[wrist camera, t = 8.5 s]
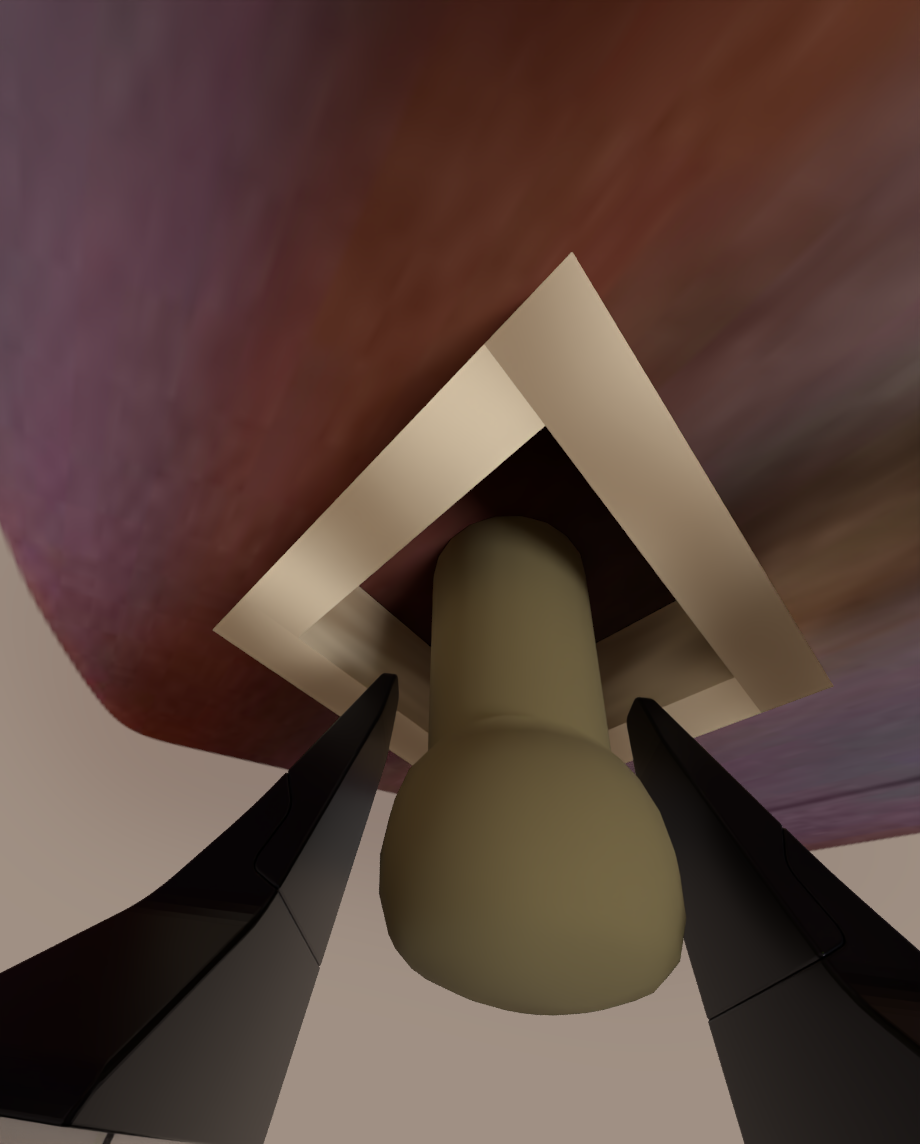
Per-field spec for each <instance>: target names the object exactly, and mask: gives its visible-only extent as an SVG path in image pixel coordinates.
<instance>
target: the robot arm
mask: <svg viewBox="0 0 920 1144" xmlns="http://www.w3.org/2000/svg"><path fill="white" fill-rule="evenodd" d="M398 701H399V686H398V676H397V675H396V674H392V673H383V674H381V675H380V676H379V677H378V678H377V679H376V680H375V681H374V682H373V683H372V684H371V685H370V686H369V687H368V688H367V689H366V691H365V692H364V693H363V694H362V695H361V696H360V697H359V698H358V699H357V700H356V701H355V702H354V703H353V704H352V705H351V706H350V707H349V708H348V709H347V710H346V711H345V712H344V713H343V714H342V715H341V716H340V717H339V718H338V720H337V721H336V722H335V723H334V724H333V725H332V726H331V727H330V728H329V729H328V730H327V731H326V732H325V733H324V734H323V735H322V736H321V737H320V738H319V739H318V740H317V741H316V742H315V743H314V744H313V745H312V746H311V747H310V748H309V750H308V751H307V752H306V753H305V754H304V755H303V756H302V757H301V758H300V759H299V760H298V761H297V762H296V763H295V764H294V765H293V766H292V767H291V768H290V769H289V770H288V773H285V774H284V775H283V776H282V777H281V778H280V779H279V780H278V781H277V782H276V783H275V785H274V786H273V787H272V788H271V789H270V790H269V791H268V792H266V793H265V795H264V796H263V797H261V798H260V799H259V801H258V802H256V803H255V804H254V805H253V806H252V807H251V808H250V809H249V810H248V811H247V812H246V813H244V814H243V815H242V816H241V817H240V818H239V819H238V820H237V821H236V822H235V823H234V824H232V825H231V826H230V827H229V828H228V829H227V830H226V831H224V832H223V833H222V834H221V835H220V836H219V837H218V838H217V839H215V840H214V841H213V842H212V843H211V844H210V845H209V846H207V847H206V848H205V849H204V850H203V851H202V852H200V853H199V854H198V855H197V856H196V857H195V858H194V859H193V860H191V861H190V862H189V863H188V864H187V865H186V866H185V867H183V868H182V869H181V870H180V871H179V872H178V873H176V874H175V875H174V876H173V877H172V878H171V879H169V880H168V881H167V882H166V883H165V884H163V885H162V886H161V887H159V888H158V889H157V890H155V891H154V892H153V893H151V894H150V895H149V896H147V897H145V898H144V899H142V900H141V901H139V902H138V903H136V904H134V905H133V906H131V907H129V908H127V909H126V910H124V911H122V912H120V913H118V914H116V915H114V916H112V917H110V918H108V919H106V920H104V921H102V922H100V923H98V924H96V925H94V926H92V927H90V928H88V929H86V930H84V931H82V932H80V933H79V934H76V935H74V936H72V937H70V938H69V939H67V940H65V941H63V942H61V943H59V944H57V945H55V946H53V947H51V948H49V949H47V950H45V951H43V952H41V953H39V954H37V955H35V956H33V957H31V958H29V959H27V960H25V961H23V962H21V963H19V964H17V965H16V966H13V967H11V968H9V969H7V970H6V971H3V972H1V973H0V1144H263V1143H264V1140H265V1137H266V1134H267V1131H268V1128H269V1125H270V1122H271V1119H272V1115H273V1112H274V1109H275V1106H276V1103H277V1100H278V1097H279V1093H280V1090H281V1087H282V1084H283V1081H284V1078H285V1075H286V1072H287V1068H288V1066H289V1063H290V1059H291V1056H292V1053H293V1050H294V1047H295V1044H296V1041H297V1037H298V1034H299V1031H300V1028H301V1025H302V1022H303V1019H304V1016H305V1013H306V1009H307V1006H308V1003H309V1000H310V997H311V994H312V991H313V988H314V985H315V981H316V978H317V975H318V972H319V969H320V968H319V966H320V965H321V962H322V959H323V956H324V953H325V950H326V947H327V944H328V940H329V937H330V934H331V931H332V928H333V925H334V922H335V919H336V916H337V912H338V909H339V906H340V903H341V900H342V897H343V894H344V891H345V887H346V884H347V881H348V878H349V875H350V872H351V869H352V866H353V862H354V859H355V856H356V853H357V850H358V847H359V844H360V841H361V837H362V834H363V831H364V828H365V825H366V822H367V819H368V816H369V813H370V809H371V806H372V803H373V800H374V797H375V794H376V791H377V788H378V784H379V781H380V778H381V775H382V772H383V769H384V766H385V762H386V759H387V755H388V751H389V746H390V741H391V736H392V731H393V726H394V721H395V716H396V711H397V706H398ZM626 723H627V730H628V735H629V740H630V746H631V751H632V757H633V762H634V767H635V773H636V776H637V777H638V778H639V779H640V781H641V783H642V784H643V786H644V787H645V789H646V790H647V792H648V794H649V795H650V797H651V798H652V800H653V802H654V803H655V805H656V806H657V808H658V810H659V811H660V813H661V816H662V819H663V821H664V824H665V827H666V829H667V832H668V835H669V837H670V840H671V843H672V845H673V848H674V851H675V854H676V858H677V863H678V867H679V872H680V877H681V884H682V891H683V898H684V905H685V912H686V924H685V931H684V941H685V945H686V948H687V951H688V955H689V958H690V961H691V965H692V968H693V972H694V975H695V978H696V982H697V985H698V988H699V992H700V995H701V998H702V1002H703V1005H704V1009H705V1011H706V1015H707V1018H708V1019H709V1022H708V1023H709V1026H710V1030H711V1033H712V1036H713V1039H714V1043H715V1046H716V1050H717V1053H718V1057H719V1060H720V1063H721V1067H722V1070H723V1073H724V1077H725V1080H726V1083H727V1086H728V1090H729V1093H730V1096H731V1100H732V1104H733V1107H734V1110H735V1114H736V1117H737V1120H738V1124H739V1127H740V1130H741V1134H742V1137H743V1140H744V1144H920V951H919V950H918V949H917V948H916V947H915V946H914V945H912V944H911V943H910V942H909V941H908V940H907V939H906V938H904V937H903V936H902V935H901V934H900V933H899V932H898V931H896V930H895V929H894V928H893V927H892V926H891V925H890V924H888V922H886V921H885V920H884V919H883V918H882V917H881V916H880V915H878V914H877V913H876V912H875V911H874V910H873V909H872V908H870V907H869V906H868V905H867V904H866V903H865V902H864V901H863V900H861V899H860V898H859V897H858V896H857V895H856V894H855V893H854V892H853V891H851V890H850V889H849V888H848V887H847V886H846V885H845V884H844V883H843V882H841V881H840V880H839V879H838V878H837V877H836V876H835V875H834V874H833V873H831V872H830V871H829V870H828V869H827V868H826V867H825V866H824V865H823V864H822V863H821V862H820V861H819V860H818V859H817V858H816V857H815V856H814V855H813V854H811V853H810V852H809V851H808V850H807V849H806V848H805V847H804V846H803V845H802V844H801V843H800V842H799V841H798V840H797V839H796V838H795V837H794V836H793V835H792V834H791V833H790V832H789V831H788V830H787V829H785V828H782V825H781V824H780V823H779V822H778V821H777V820H776V819H775V818H774V817H773V816H772V815H771V814H770V813H769V812H768V811H767V810H766V809H765V808H764V807H763V806H762V805H761V804H760V803H759V802H758V801H757V800H756V799H755V798H754V797H753V796H752V795H751V794H750V793H749V792H748V791H747V790H746V789H745V788H744V787H743V786H742V785H741V784H740V783H739V782H738V781H737V780H736V779H735V778H734V777H732V776H731V775H730V774H729V773H728V772H727V771H726V770H725V769H724V768H723V767H722V766H721V765H720V764H719V763H718V762H717V761H716V760H715V759H714V758H713V757H712V756H711V755H710V754H709V753H708V752H707V751H706V750H705V749H704V748H703V747H702V746H701V745H700V744H699V743H698V742H697V741H696V740H695V739H694V738H693V737H692V736H691V735H690V734H689V733H688V732H687V731H686V730H685V729H683V728H682V727H681V726H680V725H679V724H678V723H677V722H676V721H675V720H674V719H673V718H672V717H671V716H670V715H669V714H668V713H667V712H666V711H665V710H664V709H663V708H662V707H661V706H660V705H659V704H658V703H657V702H656V701H655V700H653V699H651V698H644V697H637V698H635V699H634V701H633V704H632V706H631V708H630V711H629V713H628V715H627V720H626Z"/></svg>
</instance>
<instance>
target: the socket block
mask: <svg viewBox="0 0 920 1144" xmlns="http://www.w3.org/2000/svg"><path fill="white" fill-rule="evenodd" d="M544 426H546V427H547V428H548V430H549V431H550V432H551V434H552V435H553V436H554V438H555V439H556V440H557V442H558V443H559V444H560V446H561V447H562V448H563V450H564V451H565V452H566V454H567V455H568V456H569V458H570V459H571V460H572V462H573V463H574V464H575V466H576V467H577V468H578V470H579V471H580V472H581V474H582V475H583V476H584V478H585V479H586V480H587V482H588V483H589V484H590V486H591V487H592V488H593V490H594V491H595V492H596V494H597V495H598V496H599V498H600V499H601V500H602V502H603V503H604V504H605V506H606V507H607V508H608V510H609V511H610V512H611V514H612V515H613V516H614V518H615V519H616V520H617V522H618V523H619V524H620V526H621V527H622V528H623V530H624V531H625V532H626V534H627V535H628V536H629V538H630V539H631V540H632V541H633V543H634V544H635V545H636V547H637V548H638V549H639V551H640V552H641V553H642V555H643V556H644V557H645V559H646V560H647V561H648V563H649V564H650V565H651V567H652V568H653V569H654V571H655V572H656V573H657V575H658V576H659V577H660V579H661V580H662V581H663V583H664V584H665V585H666V587H667V588H668V589H669V591H670V592H671V593H672V595H673V596H674V597H675V599H676V600H677V601H675V602H673V603H671V604H669V605H667V606H665V607H664V608H662V609H660V610H658V611H656V612H654V613H652V614H650V615H648V616H647V617H645V618H643V619H641V620H639V621H637V622H635V623H633V624H632V625H630V626H628V627H626V628H624V629H622V630H620V631H618V632H616V633H615V634H613V635H611V636H609V637H607V638H605V639H603V640H601V641H600V642H598V643H596V650H597V657H598V664H599V671H600V678H601V685H602V692H603V699H604V706H605V713H606V719H607V726H608V733H609V740H610V747H611V752H612V753H614V754H615V755H616V756H617V757H619V758H620V759H621V760H622V761H623V762H624V763H627V762H630V761H632V760H633V757H632V751H631V746H630V740H629V735H628V730H627V723H626V720H627V715H628V713H629V711H630V708H631V706H632V704H633V701H634V699H635V698H637V697H644V698H651V699H653V700H655V701H656V702H657V703H658V704H659V705H660V706H661V707H662V708H663V709H664V710H665V711H666V712H667V713H668V714H669V715H670V716H671V717H672V718H673V719H674V720H675V721H676V722H677V723H678V724H679V725H680V726H681V727H682V728H683V729H685V730H686V731H687V732H688V733H689V734H690V735H691V736H692V737H693V738H695V737H697V736H700V735H703V734H706V733H708V732H711V731H714V730H716V729H719V728H722V727H725V726H727V725H730V724H733V723H735V722H738V721H741V720H744V719H746V718H749V717H752V716H754V715H757V714H760V713H763V712H765V711H768V710H771V709H773V708H776V707H779V706H782V705H784V704H787V703H790V702H792V701H795V700H798V699H801V698H803V697H806V696H809V695H811V694H814V693H817V692H819V691H822V690H825V689H828V688H830V687H833V685H832V683H831V681H830V680H829V678H828V676H827V675H826V673H825V671H824V670H823V668H822V666H821V665H820V663H819V661H818V660H817V658H816V656H815V655H814V653H813V651H812V650H811V648H810V646H809V645H808V643H807V641H806V640H805V638H804V636H803V635H802V633H801V631H800V630H799V628H798V626H797V625H796V623H795V621H794V620H793V618H792V616H791V615H790V613H789V611H788V610H787V608H786V606H785V605H784V603H783V601H782V600H781V598H780V596H779V595H778V593H777V591H776V590H775V588H774V587H773V585H772V583H771V582H770V580H769V578H768V577H767V575H766V573H765V572H764V570H763V568H762V567H761V565H760V563H759V562H758V560H757V558H756V557H755V555H754V553H753V552H752V550H751V548H750V547H749V545H748V543H747V542H746V540H745V538H744V537H743V535H742V533H741V532H740V530H739V528H738V527H737V525H736V523H735V522H734V520H733V518H732V517H731V515H730V513H729V512H728V510H727V508H726V507H725V505H724V503H723V502H722V500H721V498H720V497H719V495H718V493H717V492H716V490H715V488H714V487H713V485H712V483H711V482H710V480H709V478H708V477H707V475H706V473H705V472H704V470H703V468H702V467H701V465H700V463H699V462H698V460H697V458H696V457H695V455H694V454H693V452H692V450H691V449H690V447H689V445H688V444H687V442H686V440H685V439H684V437H683V435H682V434H681V432H680V430H679V429H678V427H677V425H676V424H675V422H674V420H673V419H672V417H671V415H670V414H669V412H668V410H667V409H666V407H665V405H664V404H663V402H662V400H661V399H660V397H659V395H658V394H657V392H656V390H655V389H654V387H653V385H652V384H651V382H650V380H649V379H648V377H647V375H646V374H645V372H644V370H643V369H642V367H641V365H640V364H639V362H638V360H637V359H636V357H635V355H634V354H633V352H632V350H631V349H630V347H629V345H628V344H627V342H626V340H625V339H624V337H623V335H622V334H621V332H620V330H619V329H618V327H617V325H616V324H615V322H614V321H613V319H612V317H611V316H610V314H609V312H608V311H607V309H606V307H605V306H604V304H603V302H602V301H601V299H600V297H599V296H598V294H597V292H596V291H595V289H594V287H593V286H592V284H591V282H590V281H589V279H588V277H587V276H586V274H585V272H584V271H583V269H582V267H581V266H580V264H579V262H578V261H577V259H576V257H575V256H574V254H573V252H571V253H570V255H569V256H568V257H567V258H566V259H565V260H564V261H563V262H562V263H561V264H560V265H559V266H558V267H557V268H556V269H555V270H554V271H553V272H552V273H551V275H550V276H549V277H548V278H547V279H546V280H545V281H544V282H543V283H542V284H541V285H540V286H539V287H538V288H537V289H536V290H535V291H534V292H533V293H532V294H531V296H530V297H529V298H528V299H527V300H526V301H525V302H524V303H523V304H522V305H521V306H520V307H519V308H518V309H517V310H516V311H515V312H514V313H513V314H512V315H511V317H510V318H509V319H508V320H507V321H506V322H505V323H504V324H503V325H502V326H501V327H500V328H499V329H498V330H497V331H496V332H495V333H494V334H493V335H492V337H491V338H490V339H489V340H488V341H487V342H486V343H485V344H484V345H483V346H482V347H481V348H480V349H479V350H478V351H477V352H476V353H475V354H474V355H473V356H472V358H471V359H470V360H469V361H468V362H467V363H466V364H465V365H464V366H463V367H462V368H461V369H460V370H459V371H458V372H457V373H456V374H455V375H454V376H453V377H452V379H451V380H450V381H449V382H448V383H447V384H446V385H445V386H444V387H443V388H442V389H441V390H440V391H439V392H438V393H437V394H436V395H435V396H434V397H433V399H432V400H431V401H430V402H429V403H428V404H427V405H426V406H425V407H424V408H423V409H422V410H421V411H420V412H419V413H418V414H417V415H416V416H415V417H414V418H413V420H412V421H411V422H410V423H409V424H408V425H407V426H406V427H405V428H404V429H403V430H402V431H401V432H400V433H399V434H398V435H397V436H396V437H395V438H394V439H393V441H392V442H391V443H390V444H389V445H388V446H387V447H386V448H385V449H384V450H383V451H382V452H381V453H380V454H379V455H378V456H377V457H376V458H375V459H374V461H373V462H372V463H371V464H370V465H369V466H368V467H367V468H366V469H365V470H364V471H363V472H362V473H361V474H360V475H359V476H358V477H357V478H356V479H355V480H354V482H353V483H352V484H351V485H350V486H349V487H348V488H347V489H346V490H345V491H344V492H343V493H342V494H341V495H340V496H339V497H338V498H337V499H336V500H335V502H334V503H333V504H332V505H331V506H330V507H329V508H328V509H327V510H326V511H325V512H324V513H323V514H322V515H321V516H320V517H319V518H318V519H317V520H316V521H315V523H314V524H313V525H312V526H311V527H310V528H309V529H308V530H307V531H306V532H305V533H304V534H303V535H302V536H301V537H300V538H299V539H298V540H297V541H296V542H295V544H294V545H293V546H292V547H291V548H290V549H289V550H288V551H287V552H286V553H285V554H284V555H283V556H282V557H281V558H280V559H279V560H278V561H277V562H276V564H275V565H274V566H273V567H272V568H271V569H270V570H269V571H268V572H267V573H266V574H265V575H264V576H263V577H262V578H261V579H260V580H259V581H258V582H257V583H256V585H255V586H254V587H253V588H252V589H251V590H250V591H249V592H248V593H247V594H246V595H245V596H244V597H243V598H242V599H241V600H240V601H239V602H238V603H237V605H236V606H235V607H234V608H233V609H232V610H231V611H230V612H229V613H228V614H227V615H226V616H225V617H224V618H223V619H222V620H221V621H220V622H219V623H218V624H217V626H216V627H215V628H214V629H213V631H214V632H216V633H217V634H219V635H220V636H222V637H223V638H225V639H226V640H228V641H229V642H231V643H232V644H234V645H235V646H237V647H238V648H240V649H241V650H243V651H244V652H245V653H247V654H248V655H250V656H251V657H253V658H254V659H256V660H257V661H259V662H260V663H262V664H263V665H265V666H266V667H268V668H269V669H271V670H272V671H274V672H275V673H277V674H278V675H280V676H281V677H283V678H284V679H285V680H287V681H288V682H290V683H291V684H293V685H294V686H296V687H297V688H299V689H300V690H302V691H303V692H305V693H306V694H308V695H309V696H311V697H312V698H314V699H315V700H317V701H318V702H320V703H321V704H322V705H324V706H325V707H327V708H328V709H330V710H331V711H333V712H334V713H336V714H337V715H339V716H341V715H342V714H343V713H344V712H345V711H346V710H347V709H348V708H349V707H350V706H351V705H352V704H353V703H354V702H355V701H356V700H357V699H358V698H359V697H360V696H361V695H362V694H363V693H364V692H365V691H366V689H367V688H368V687H369V686H370V685H371V684H372V683H373V682H374V681H375V680H376V679H377V678H378V677H379V676H380V675H381V674H383V673H392V674H396V675H397V676H398V686H399V701H398V706H397V711H396V716H395V721H394V726H393V731H392V736H391V741H390V746H389V750H391V751H392V752H394V753H395V754H396V755H398V756H399V757H401V758H402V759H404V760H405V761H407V762H408V763H410V764H411V765H414V764H415V763H416V762H417V761H418V760H419V759H420V758H421V757H422V756H423V755H424V754H425V753H426V752H427V751H428V731H429V700H430V669H431V647H430V646H429V645H428V644H426V643H425V642H424V641H423V640H422V639H421V638H419V637H418V636H417V635H416V634H415V633H413V632H412V631H411V630H410V629H409V628H408V627H406V626H405V625H404V624H403V623H402V622H400V621H399V620H398V619H397V618H396V617H395V616H393V615H392V614H391V613H390V612H389V611H387V610H386V609H385V608H384V607H383V606H382V605H380V604H379V603H378V602H377V601H376V600H374V599H373V598H372V597H371V596H370V595H368V594H367V593H366V592H365V591H364V590H363V589H361V588H360V587H359V585H360V584H361V583H362V582H363V581H365V580H366V579H367V578H368V577H369V576H370V575H372V574H373V573H374V572H375V571H376V570H378V569H379V568H380V567H381V566H382V565H383V564H385V563H386V562H387V561H388V560H389V559H390V558H392V557H393V556H394V555H395V554H396V553H397V552H399V551H400V550H401V549H402V548H403V547H404V546H406V545H407V544H408V543H409V542H410V541H411V540H413V539H414V538H415V537H416V536H417V535H418V534H420V533H421V532H422V531H423V530H424V529H425V528H427V527H428V526H429V525H430V524H431V523H432V522H434V521H435V520H436V519H437V518H438V517H439V516H441V515H442V514H443V513H444V512H445V511H446V510H448V509H449V508H450V507H451V506H452V505H453V504H455V503H456V502H457V501H458V500H459V499H460V498H462V497H463V496H464V495H465V494H466V493H467V492H469V491H470V490H471V489H472V488H473V487H474V486H476V485H477V484H478V483H479V482H480V481H481V480H483V479H484V478H485V477H486V476H487V475H488V474H490V473H491V472H492V471H493V470H494V469H495V468H497V467H498V466H499V465H500V464H501V463H502V462H504V461H505V460H506V459H507V458H508V457H509V456H511V455H512V454H513V453H514V452H515V451H516V450H518V449H519V448H520V447H521V446H522V445H523V444H525V443H526V442H527V441H528V440H529V439H530V438H532V437H533V436H534V435H535V434H536V433H537V432H539V431H540V430H541V429H542V428H543V427H544Z"/></svg>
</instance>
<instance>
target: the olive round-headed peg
mask: <svg viewBox="0 0 920 1144" xmlns="http://www.w3.org/2000/svg"><path fill="white" fill-rule="evenodd" d="M379 895H380V899H381V904H382V908H383V912H384V917H385V921H386V925H387V930H388V934H389V936H390V938H391V940H392V942H393V945H394V947H395V949H396V950H397V951H398V952H399V954H400V955H401V956H402V957H403V959H404V960H405V961H406V962H407V963H408V965H409V966H410V967H411V968H412V969H413V970H414V971H416V972H417V973H418V974H420V975H421V976H423V977H424V978H425V979H427V980H429V981H431V982H433V983H435V984H437V985H439V986H441V987H443V988H445V989H448V990H450V991H452V992H454V993H456V994H458V995H460V996H463V997H465V998H467V999H469V1000H472V1001H475V1002H479V1003H482V1004H486V1005H489V1006H493V1007H496V1008H500V1009H503V1010H508V1011H513V1012H519V1013H526V1014H535V1015H568V1014H580V1013H588V1012H594V1011H599V1010H604V1009H608V1008H611V1007H615V1006H619V1005H622V1004H625V1003H629V1002H632V1001H636V1000H638V999H640V998H642V997H645V996H647V995H649V994H652V993H654V992H655V990H656V989H657V988H658V987H659V986H660V985H661V984H662V983H663V982H664V980H665V979H666V978H667V977H668V976H669V975H670V974H671V972H672V971H673V970H674V968H675V967H676V966H677V964H678V963H679V962H680V958H681V951H682V944H683V938H684V931H685V924H686V912H685V905H684V898H683V891H682V884H681V877H680V872H679V867H678V863H677V858H676V854H675V851H674V848H673V845H672V843H671V840H670V837H669V835H668V832H667V829H666V827H665V824H664V821H663V819H662V816H661V813H660V811H659V810H658V808H657V806H656V805H655V803H654V802H653V800H652V798H651V797H650V795H649V794H648V792H647V790H646V789H645V787H644V786H643V784H642V783H641V781H640V779H639V778H638V777H637V776H636V775H635V774H634V773H633V772H632V771H631V770H630V769H629V768H628V767H627V766H626V765H625V763H624V762H623V761H622V760H621V759H620V758H619V757H617V756H616V755H615V754H614V753H612V752H611V747H610V740H609V733H608V726H607V719H606V713H605V706H604V699H603V692H602V685H601V678H600V671H599V664H598V657H597V650H596V643H595V636H594V630H593V623H592V616H591V609H590V602H589V595H588V588H587V581H586V574H585V571H584V567H583V563H582V559H581V556H580V553H579V552H578V551H577V549H576V548H575V547H574V545H573V544H572V543H571V541H570V540H569V539H568V537H567V536H566V535H564V534H563V533H561V532H560V531H558V530H557V529H555V528H554V527H552V526H551V525H549V524H548V523H546V522H542V521H538V520H535V519H531V518H527V517H524V516H498V517H492V518H489V519H486V520H483V521H480V522H477V523H474V524H471V525H469V526H468V527H467V528H465V529H464V530H463V531H461V532H460V533H458V534H457V535H456V536H454V537H453V538H452V539H451V540H450V541H449V542H448V544H447V545H446V547H445V548H444V550H443V551H442V553H441V554H440V555H439V557H438V561H437V565H436V569H435V573H434V577H433V607H432V638H431V669H430V700H429V731H428V751H427V752H426V753H425V754H424V755H423V756H422V757H421V758H420V759H419V760H418V761H417V762H416V763H415V764H414V765H413V766H412V767H411V768H410V769H409V771H408V773H407V775H406V777H405V779H404V781H403V783H402V785H401V787H400V789H399V791H398V793H397V796H396V798H395V800H394V804H393V807H392V810H391V814H390V817H389V821H388V825H387V829H386V833H385V837H384V841H383V845H382V849H381V853H380V884H379Z"/></svg>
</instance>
